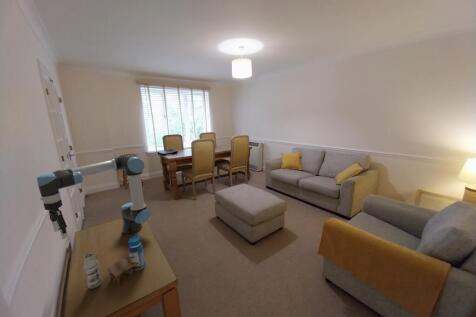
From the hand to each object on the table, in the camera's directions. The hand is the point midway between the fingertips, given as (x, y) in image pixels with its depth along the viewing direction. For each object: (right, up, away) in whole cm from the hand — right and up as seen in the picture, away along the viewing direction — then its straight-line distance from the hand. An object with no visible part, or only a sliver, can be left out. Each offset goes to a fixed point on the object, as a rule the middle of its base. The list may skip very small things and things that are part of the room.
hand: (61, 234), depth 116 cm
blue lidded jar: (+40, -25, +11) cm, 49 cm away
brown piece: (+34, -27, +3) cm, 44 cm away
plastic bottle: (+22, -29, -3) cm, 37 cm away
